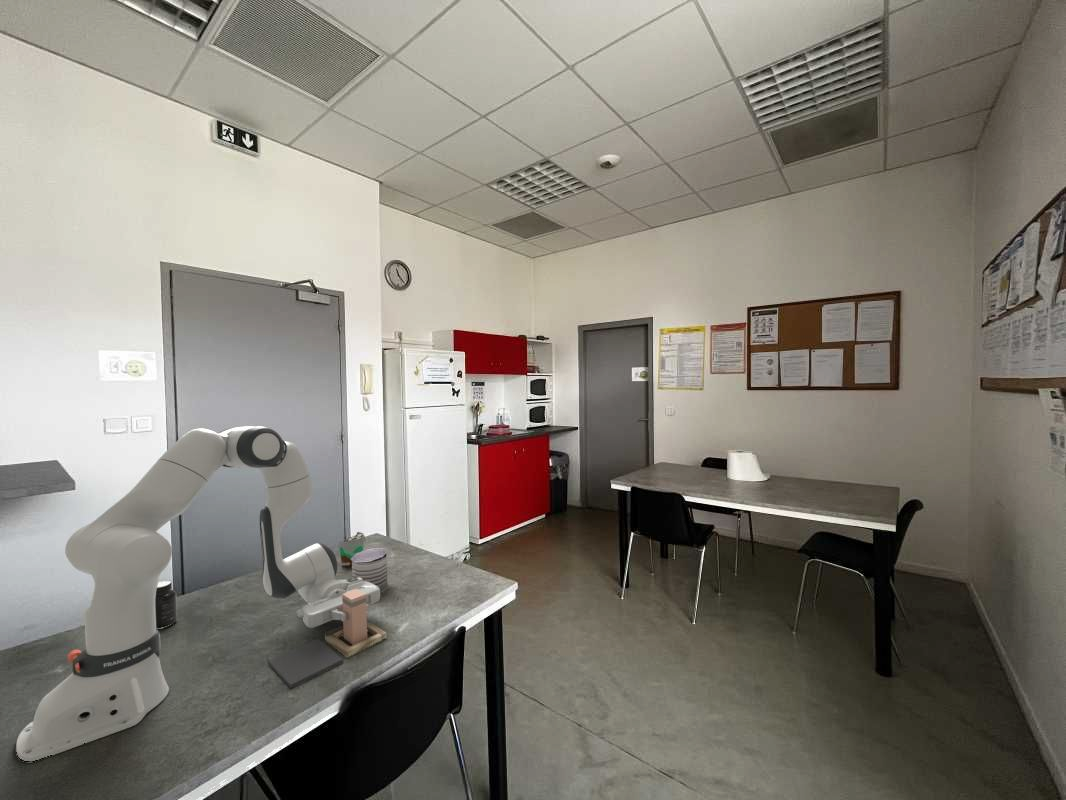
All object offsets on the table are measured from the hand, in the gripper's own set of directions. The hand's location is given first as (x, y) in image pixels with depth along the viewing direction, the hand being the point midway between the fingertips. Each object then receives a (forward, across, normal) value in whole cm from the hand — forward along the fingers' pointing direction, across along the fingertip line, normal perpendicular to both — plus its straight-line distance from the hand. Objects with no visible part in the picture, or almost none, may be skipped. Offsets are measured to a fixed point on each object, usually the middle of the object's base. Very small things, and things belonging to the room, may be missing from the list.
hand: (356, 613), depth 118 cm
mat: (-1, -13, +8) cm, 15 cm away
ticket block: (-1, 0, +7) cm, 7 cm away
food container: (-51, +26, +8) cm, 58 cm away
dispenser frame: (-1, 0, +8) cm, 8 cm away
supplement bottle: (-52, -32, +8) cm, 61 cm away
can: (-26, +18, +8) cm, 33 cm away
